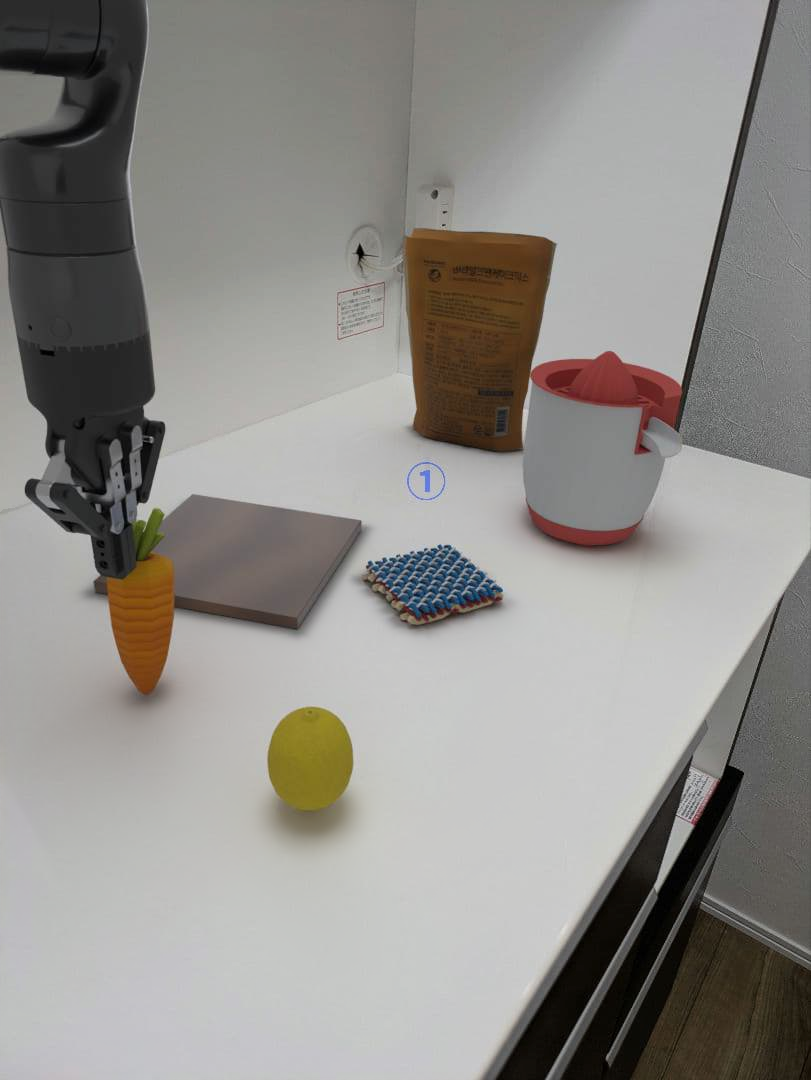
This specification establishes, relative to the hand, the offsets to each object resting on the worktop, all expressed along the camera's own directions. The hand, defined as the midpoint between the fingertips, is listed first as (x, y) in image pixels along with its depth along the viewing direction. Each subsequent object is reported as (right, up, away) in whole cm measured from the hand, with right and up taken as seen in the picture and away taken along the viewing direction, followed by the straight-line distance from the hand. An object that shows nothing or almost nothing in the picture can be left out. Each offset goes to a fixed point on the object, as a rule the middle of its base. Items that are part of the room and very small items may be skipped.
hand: (117, 572), depth 58 cm
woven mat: (+23, -3, +22) cm, 32 cm away
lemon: (+14, -16, -2) cm, 21 cm away
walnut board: (+3, 0, +26) cm, 26 cm away
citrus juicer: (+41, +4, +36) cm, 55 cm away
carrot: (0, -10, +7) cm, 12 cm away
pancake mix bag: (+28, +16, +58) cm, 66 cm away
